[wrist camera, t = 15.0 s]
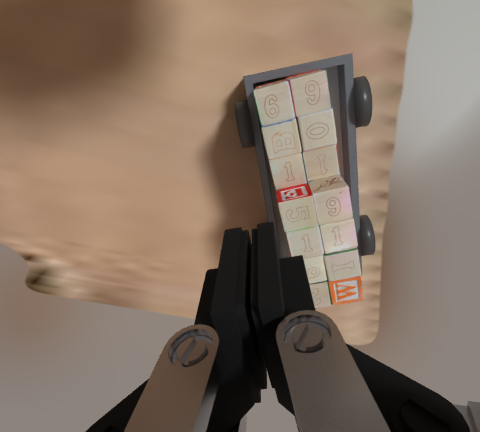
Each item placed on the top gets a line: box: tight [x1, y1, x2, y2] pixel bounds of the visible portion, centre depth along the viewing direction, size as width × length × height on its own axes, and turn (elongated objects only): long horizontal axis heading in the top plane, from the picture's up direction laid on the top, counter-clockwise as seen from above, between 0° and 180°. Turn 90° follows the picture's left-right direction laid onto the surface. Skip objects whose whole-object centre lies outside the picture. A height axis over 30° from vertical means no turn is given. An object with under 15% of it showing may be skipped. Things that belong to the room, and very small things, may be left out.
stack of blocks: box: [253, 70, 364, 308], centre depth 32 cm, size 21×6×12 cm, turn 14°
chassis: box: [235, 53, 375, 275], centre depth 37 cm, size 26×13×5 cm, turn 11°
